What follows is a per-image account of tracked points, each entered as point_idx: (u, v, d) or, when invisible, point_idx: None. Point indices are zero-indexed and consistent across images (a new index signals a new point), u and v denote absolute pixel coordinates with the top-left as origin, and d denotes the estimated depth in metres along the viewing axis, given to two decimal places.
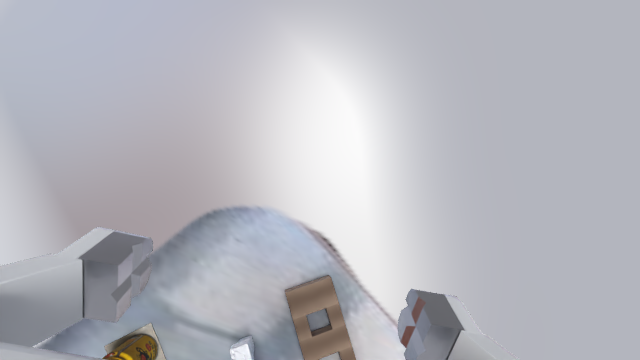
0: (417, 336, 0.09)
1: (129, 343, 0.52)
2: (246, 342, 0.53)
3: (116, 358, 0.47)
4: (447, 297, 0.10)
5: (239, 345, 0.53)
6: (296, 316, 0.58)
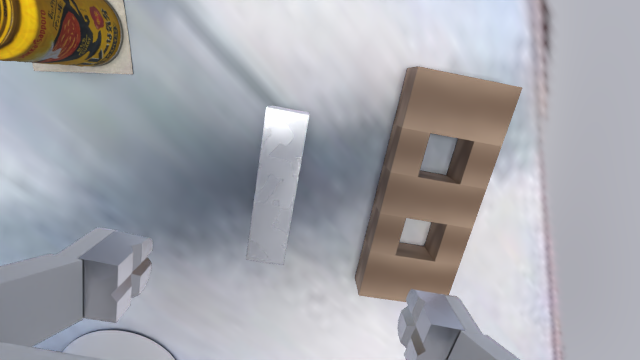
0: (417, 336, 0.09)
1: None
2: (305, 113, 0.23)
3: None
4: (446, 297, 0.10)
5: (289, 111, 0.22)
6: (412, 125, 0.27)
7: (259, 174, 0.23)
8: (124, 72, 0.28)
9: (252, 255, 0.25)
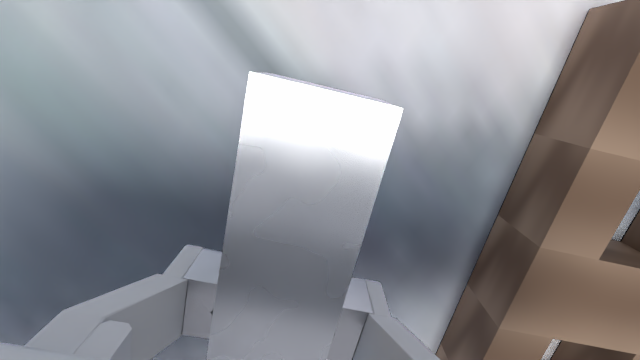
0: None
1: None
2: (382, 102, 0.07)
3: None
4: (367, 281, 0.09)
5: (331, 90, 0.07)
6: (615, 144, 0.11)
7: (223, 286, 0.07)
8: None
9: None
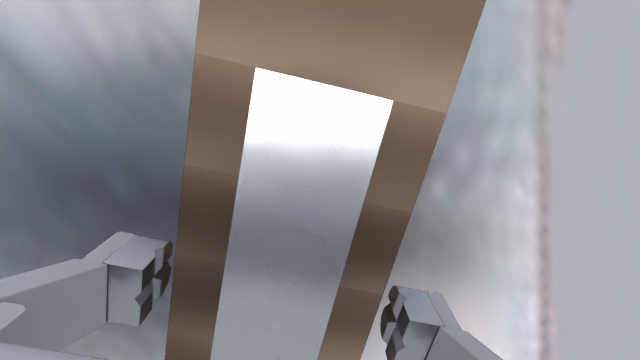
0: (398, 332, 0.09)
1: None
2: (375, 95, 0.08)
3: None
4: (429, 294, 0.10)
5: (328, 85, 0.07)
6: (219, 47, 0.11)
7: (231, 264, 0.08)
8: None
9: None
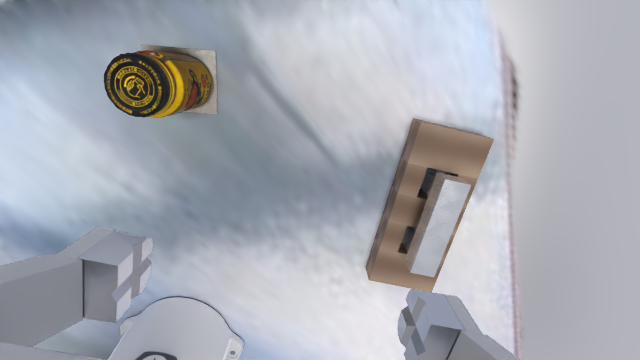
0: (417, 336, 0.09)
1: (181, 57, 0.32)
2: (465, 181, 0.35)
3: (160, 62, 0.27)
4: (447, 297, 0.10)
5: (456, 180, 0.34)
6: (414, 161, 0.38)
7: (431, 219, 0.35)
8: (211, 112, 0.39)
9: (415, 270, 0.37)
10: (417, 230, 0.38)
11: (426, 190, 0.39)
